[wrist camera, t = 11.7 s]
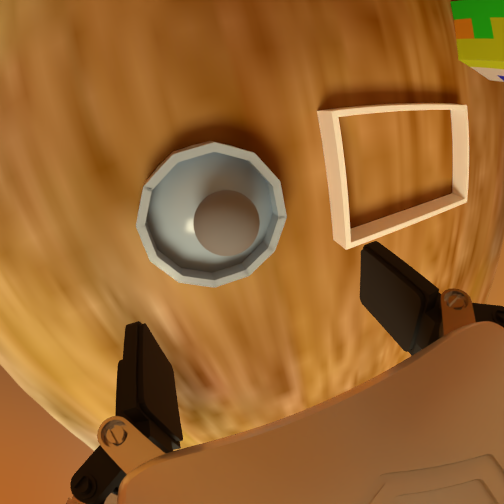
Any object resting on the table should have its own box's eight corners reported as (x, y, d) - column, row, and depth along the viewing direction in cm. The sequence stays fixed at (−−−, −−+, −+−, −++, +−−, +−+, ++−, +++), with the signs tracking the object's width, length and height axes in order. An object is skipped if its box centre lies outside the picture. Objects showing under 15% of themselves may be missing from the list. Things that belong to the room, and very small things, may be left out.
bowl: (121, 169, 21) (116, 173, 19) (261, 127, 22) (270, 128, 20) (167, 289, 26) (168, 303, 25) (285, 250, 28) (294, 260, 26)
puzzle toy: (488, 79, 26) (539, 88, 17) (458, 59, 23) (517, 63, 15) (483, 27, 21) (530, 29, 13) (450, 1, 19) (504, -3, 10)
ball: (175, 199, 21) (203, 212, 18) (229, 177, 23) (266, 185, 20) (193, 254, 24) (223, 277, 20) (242, 230, 26) (278, 247, 22)
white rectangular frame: (316, 110, 23) (331, 110, 21) (452, 103, 26) (466, 105, 24) (333, 239, 29) (346, 249, 27) (454, 196, 32) (466, 202, 30)
